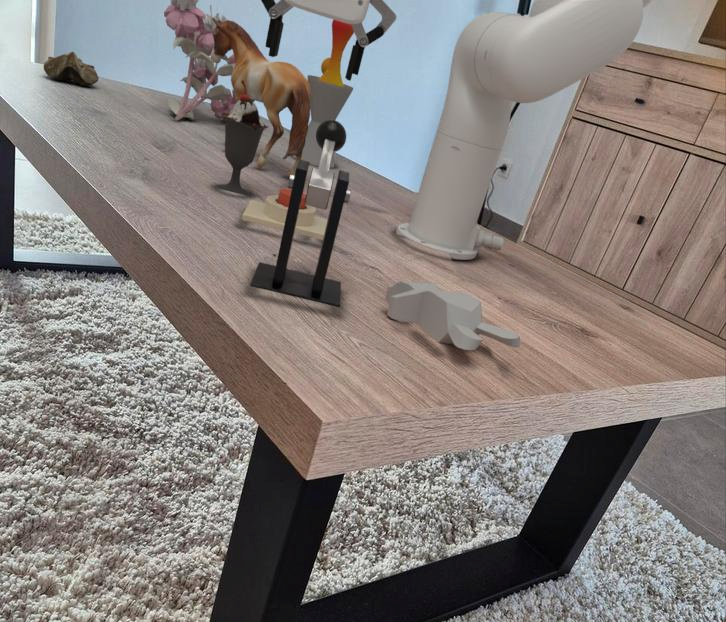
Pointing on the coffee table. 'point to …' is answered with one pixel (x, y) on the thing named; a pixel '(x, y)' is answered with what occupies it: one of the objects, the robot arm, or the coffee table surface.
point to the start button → (285, 198)
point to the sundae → (241, 139)
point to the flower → (199, 58)
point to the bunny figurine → (444, 315)
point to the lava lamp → (327, 92)
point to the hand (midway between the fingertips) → (310, 67)
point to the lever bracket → (279, 275)
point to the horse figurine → (266, 86)
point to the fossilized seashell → (70, 69)
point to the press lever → (325, 163)
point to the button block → (276, 217)
